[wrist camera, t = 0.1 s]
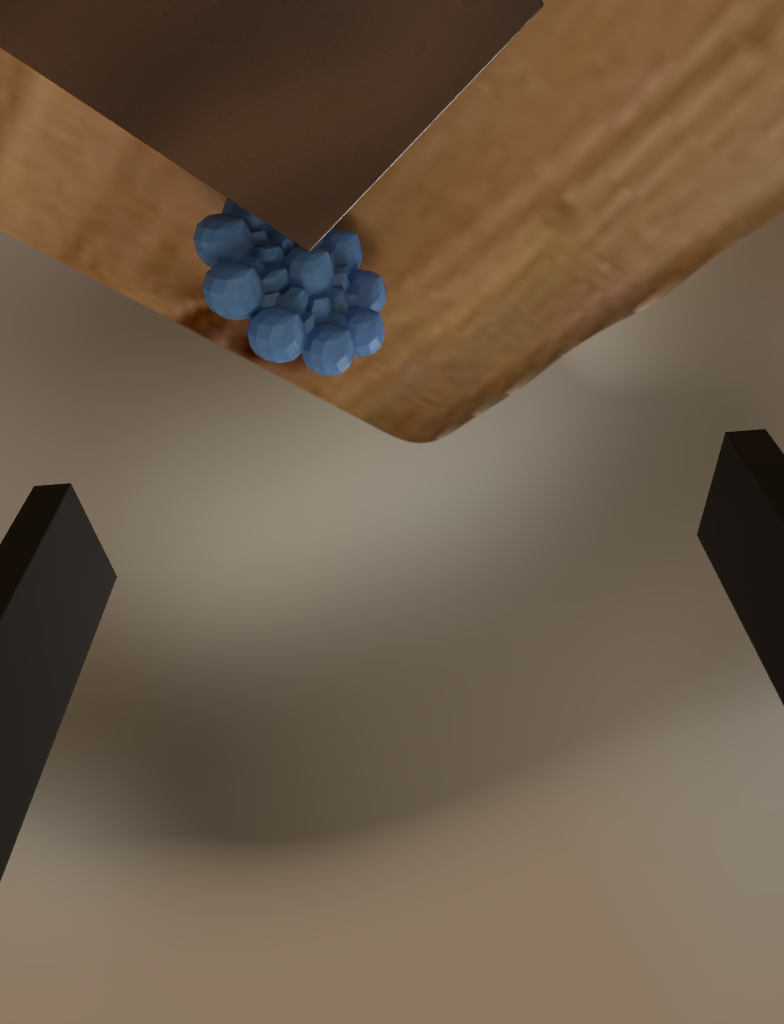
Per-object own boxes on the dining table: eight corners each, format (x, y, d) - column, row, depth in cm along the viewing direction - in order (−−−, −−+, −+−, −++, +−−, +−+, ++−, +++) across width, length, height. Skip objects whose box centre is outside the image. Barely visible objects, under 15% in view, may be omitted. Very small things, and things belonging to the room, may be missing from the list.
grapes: (171, 203, 39) (140, 365, 33) (231, 109, 35) (209, 276, 29) (338, 301, 46) (338, 451, 40) (406, 233, 42) (418, 390, 36)
